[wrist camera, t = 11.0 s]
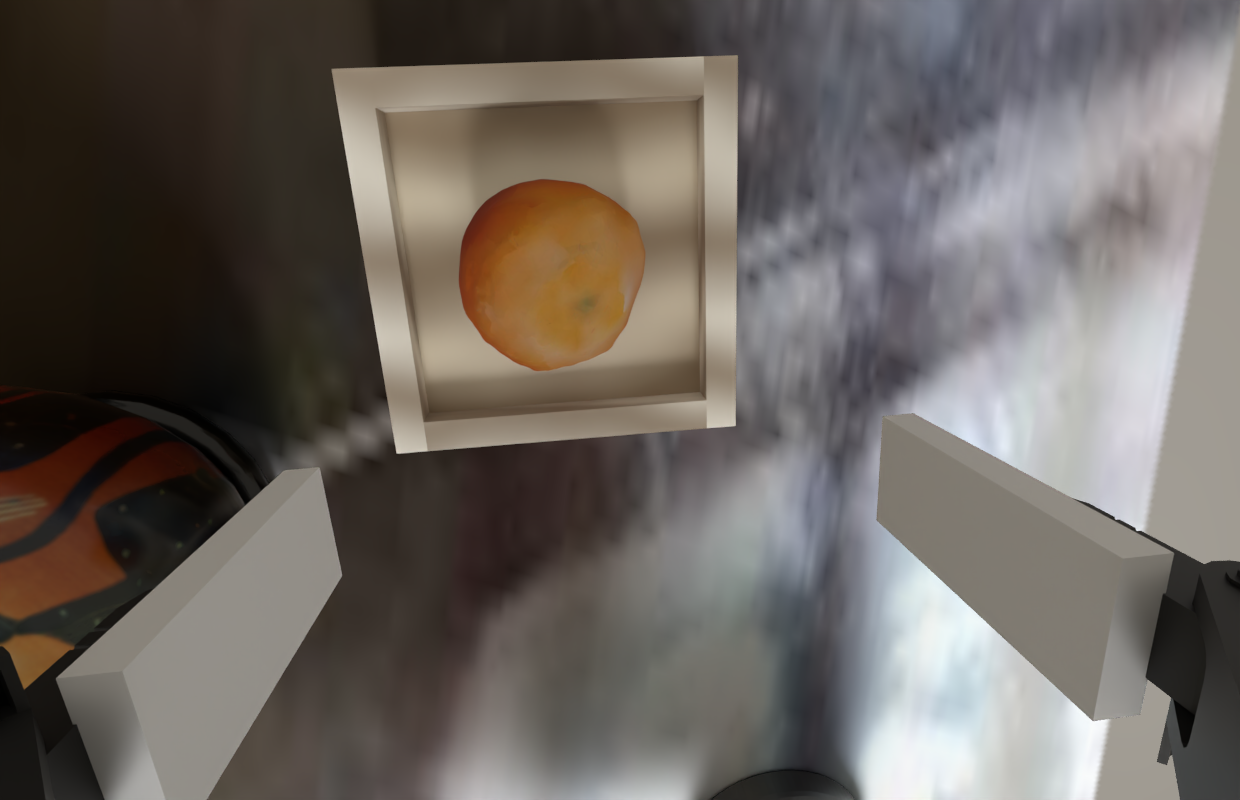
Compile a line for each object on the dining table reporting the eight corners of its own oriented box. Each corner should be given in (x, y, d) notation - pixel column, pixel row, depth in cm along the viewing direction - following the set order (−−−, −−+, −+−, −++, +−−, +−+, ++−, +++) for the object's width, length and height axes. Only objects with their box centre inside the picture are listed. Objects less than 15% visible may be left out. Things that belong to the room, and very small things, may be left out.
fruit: (495, 108, 27) (579, 161, 21) (613, 209, 32) (703, 271, 27) (393, 263, 28) (447, 349, 23) (522, 333, 34) (591, 416, 28)
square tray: (702, 385, 39) (735, 426, 32) (426, 406, 38) (396, 453, 31) (699, 86, 34) (738, 55, 27) (380, 98, 33) (331, 69, 26)
